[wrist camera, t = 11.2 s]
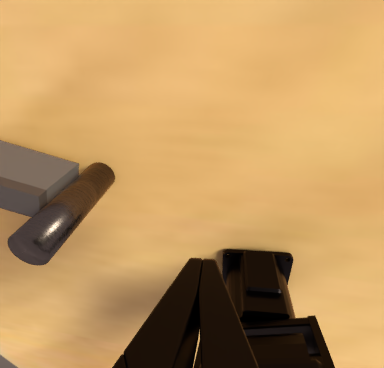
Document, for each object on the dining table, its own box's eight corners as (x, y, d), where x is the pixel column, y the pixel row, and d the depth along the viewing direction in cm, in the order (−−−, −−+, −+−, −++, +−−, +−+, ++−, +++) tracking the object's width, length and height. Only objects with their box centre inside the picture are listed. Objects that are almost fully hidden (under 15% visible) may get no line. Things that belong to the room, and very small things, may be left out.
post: (117, 187, 22) (55, 266, 14) (92, 186, 22) (18, 263, 14) (111, 162, 20) (41, 234, 13) (85, 162, 21) (0, 232, 13)
